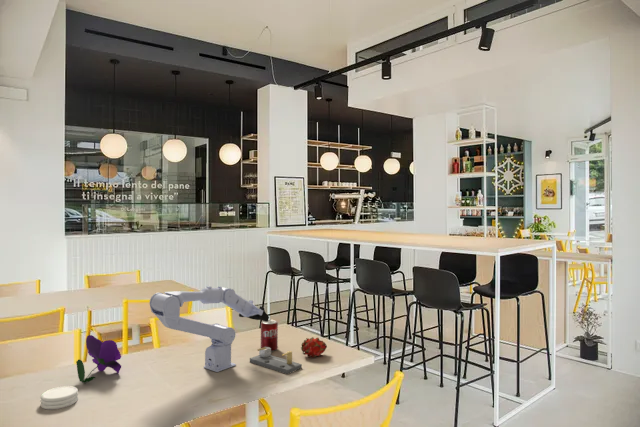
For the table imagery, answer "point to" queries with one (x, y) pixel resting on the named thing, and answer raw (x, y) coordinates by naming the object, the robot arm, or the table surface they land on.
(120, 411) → the table surface
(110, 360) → the flower
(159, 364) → the table surface
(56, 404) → the coaster
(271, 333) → the soda can
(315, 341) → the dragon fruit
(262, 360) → the cube slider plate
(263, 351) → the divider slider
